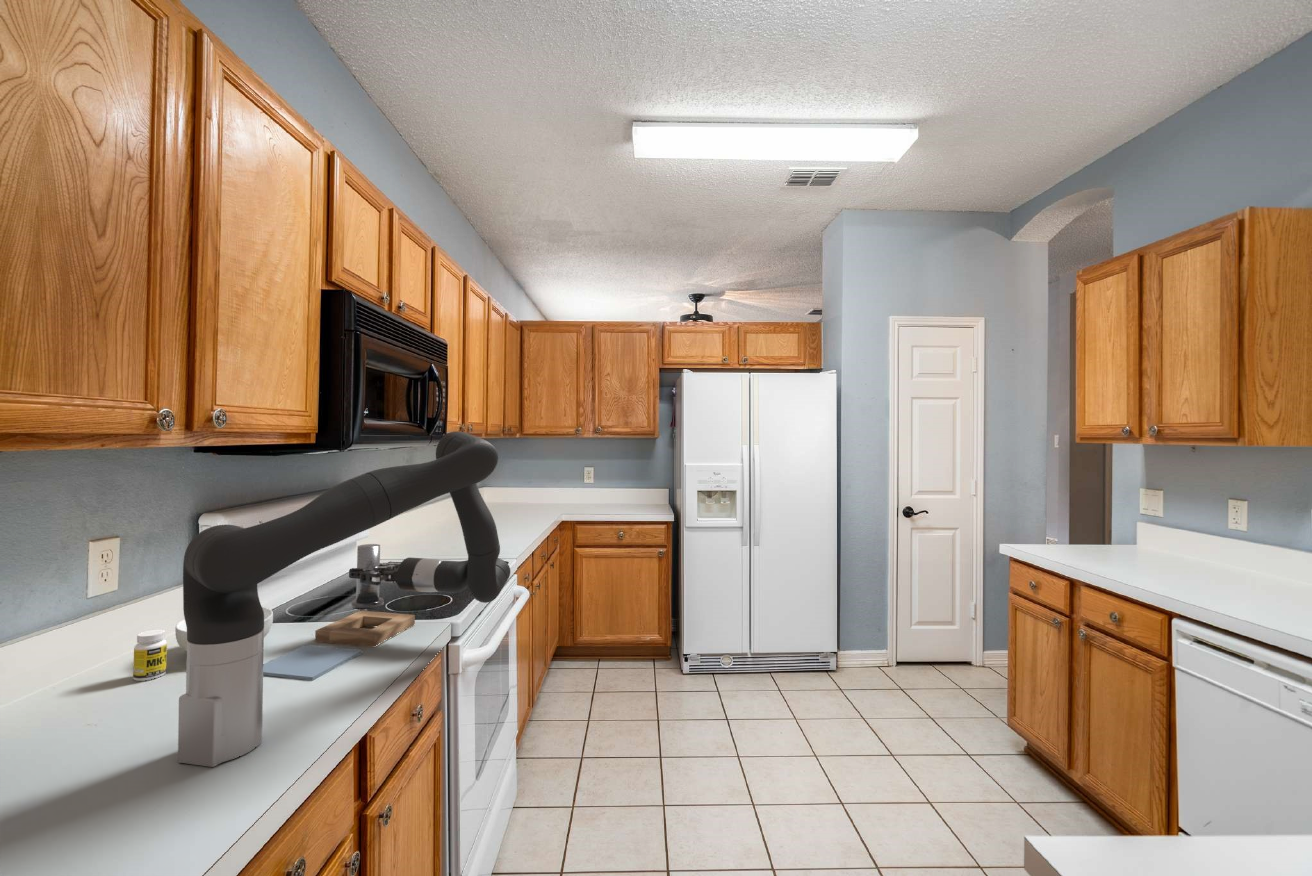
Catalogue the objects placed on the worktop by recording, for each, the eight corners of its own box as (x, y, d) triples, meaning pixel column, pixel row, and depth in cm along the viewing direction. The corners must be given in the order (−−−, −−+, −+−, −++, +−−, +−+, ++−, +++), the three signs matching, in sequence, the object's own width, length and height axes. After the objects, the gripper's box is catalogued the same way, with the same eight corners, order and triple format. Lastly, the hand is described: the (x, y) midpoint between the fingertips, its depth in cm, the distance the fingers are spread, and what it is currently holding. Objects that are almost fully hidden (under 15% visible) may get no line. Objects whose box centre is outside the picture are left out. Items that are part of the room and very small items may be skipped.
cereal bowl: (155, 658, 117) (155, 624, 117) (237, 632, 133) (237, 602, 133) (212, 671, 112) (212, 635, 112) (290, 642, 127) (291, 611, 127)
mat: (312, 680, 109) (312, 677, 109) (249, 673, 111) (249, 670, 111) (362, 652, 122) (362, 650, 122) (305, 647, 125) (305, 644, 125)
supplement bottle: (146, 683, 106) (147, 638, 106) (126, 680, 107) (127, 635, 107) (172, 672, 111) (173, 629, 111) (153, 670, 112) (154, 627, 112)
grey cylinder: (370, 610, 130) (372, 549, 130) (344, 608, 131) (346, 547, 131) (389, 602, 137) (391, 544, 137) (364, 600, 138) (365, 542, 138)
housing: (374, 647, 126) (375, 636, 126) (315, 641, 128) (315, 630, 128) (414, 625, 141) (414, 615, 141) (360, 620, 143) (360, 610, 143)
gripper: (440, 552, 139) (377, 549, 142) (405, 565, 125) (336, 560, 128) (440, 583, 139) (377, 579, 142) (404, 599, 125) (335, 594, 128)
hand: (358, 570), depth 135 cm, fingers closed on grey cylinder, 4 cm apart
